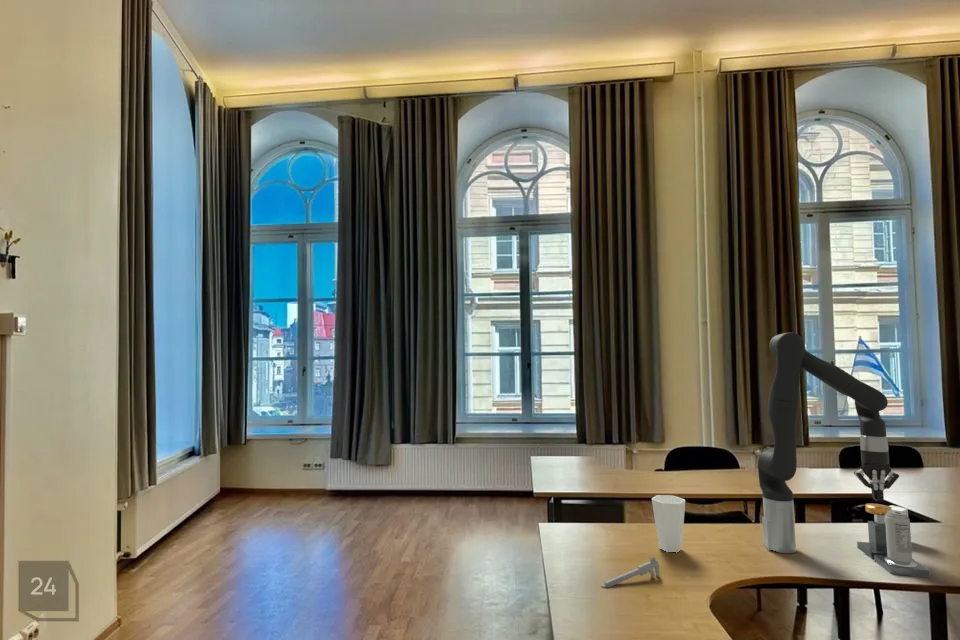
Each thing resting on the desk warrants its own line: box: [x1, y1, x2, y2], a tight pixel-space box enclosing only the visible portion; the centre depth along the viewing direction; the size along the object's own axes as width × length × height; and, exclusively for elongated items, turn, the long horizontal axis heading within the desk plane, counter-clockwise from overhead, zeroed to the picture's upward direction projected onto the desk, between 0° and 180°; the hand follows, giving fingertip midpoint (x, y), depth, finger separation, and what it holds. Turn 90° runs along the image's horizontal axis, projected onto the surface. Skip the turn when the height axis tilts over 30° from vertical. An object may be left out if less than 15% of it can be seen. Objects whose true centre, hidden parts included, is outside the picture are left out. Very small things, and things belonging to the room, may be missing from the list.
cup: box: [651, 494, 686, 554], centre depth 178 cm, size 11×10×17 cm
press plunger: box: [865, 502, 892, 525], centre depth 171 cm, size 7×7×9 cm
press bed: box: [873, 555, 931, 578], centre depth 159 cm, size 10×10×2 cm
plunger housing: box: [856, 520, 887, 560], centre depth 171 cm, size 10×10×10 cm
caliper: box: [600, 556, 661, 589], centre depth 152 cm, size 20×1×6 cm, turn 110°
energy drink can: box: [885, 510, 913, 565], centre depth 160 cm, size 6×6×15 cm
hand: (877, 500), depth 172 cm, fingers closed
